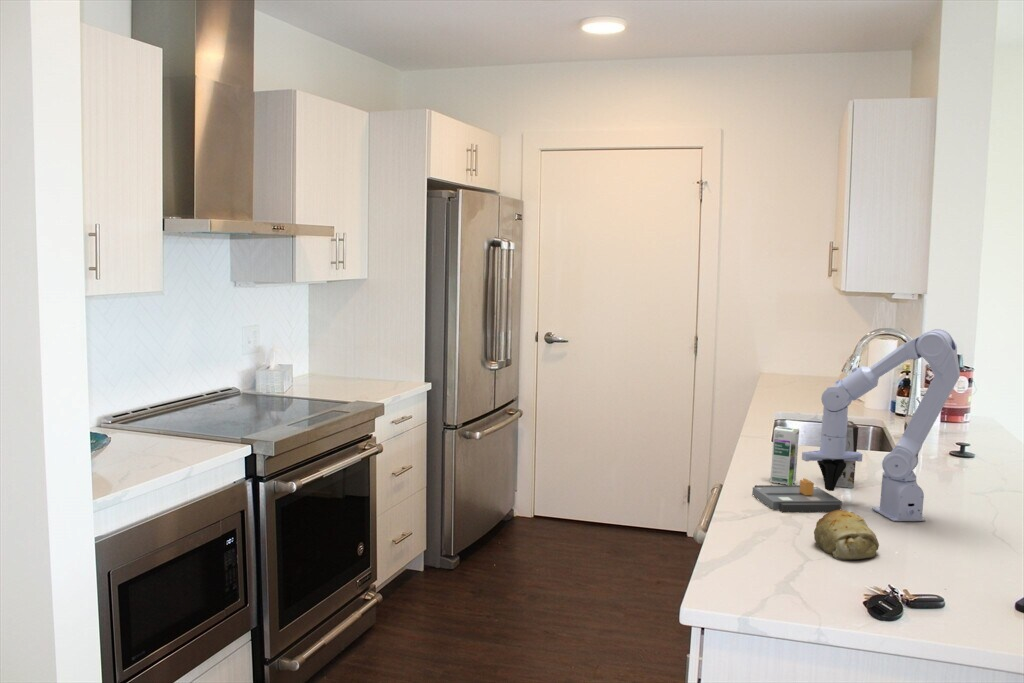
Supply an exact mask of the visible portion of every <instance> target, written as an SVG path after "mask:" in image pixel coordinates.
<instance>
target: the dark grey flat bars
mask: <svg viewBox="0 0 1024 683" xmlns="http://www.w3.org/2000/svg"><path fill="white" fill-rule="evenodd" d="M754 487H800V484H799V485H798V484H796V485H795V484H793V485H784V484H777V485H776V484H775V485H774V484H773V485H768V484H767V485H766V484H765V485H761V484H760V485H757V484H756V485H754ZM835 510H840V504H838V503H780V508H779V510H778V511H780V512H781V511H782V512H781V513H783V512H799V513H829V512H832V511H835Z"/></svg>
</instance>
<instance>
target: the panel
mask: <svg viewBox="0 0 1024 683" xmlns="http://www.w3.org/2000/svg"><path fill="white" fill-rule="evenodd" d="M799 489H800V487H755V486H753V487H752V494H751V495H752V496H753V495H754V496H755V497H756V498H755V497H754V496H753V497H754V498H755V499H757V498H758V499H759V500H758V499H757V500H758V501H760V502H761V501H762V502H763V503H762V502H761V503H762V504H764V505H765V504H766V505H765V506H766V507H768V506H769V507H770V508H769V507H768V508H769V509H771V510H772V509H773V510H772V511H780V510H779V508H780V503H838V504H840V509H841V510H842V504H843V503H842V502H843V501H842V500H840V499H839V498H837V497H835V496H833V495H832V494H830V493H828V492H827V491H825V490H823V489H821V488H820V487H818V486H816V487H815V486H813V495H804V494H802V493H801V492H799Z"/></svg>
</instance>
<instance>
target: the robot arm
mask: <svg viewBox="0 0 1024 683" xmlns="http://www.w3.org/2000/svg"><path fill="white" fill-rule="evenodd" d="M921 358H923V359H924V360H925V361H926V362H927V364H928V366H929V367H930V369H931V372H932V374H933V377H932V380H931V382H930V383H929V386H928V387H927V390H926V391H925V393H924V394H923V396H922V398H921V400H920V401H919V404H918V405H917V408H916V410H915V411H914V413H913V415H912V416H911V418H910V420H909V422H908V424H907V426H906V428H905V430H904V431H903V434H902V435H901V437H900V439H899V440H898V441H897V443H896V445H895V446H894V447H893V449H891V451H890V452H889V453H887V454H886V455H885V456H884V458H883V459H882V463H881V467H882V470H883V472H882V477H881V486H880V487H881V490H880V502H879V506H872V507H871V510H873V511H875V512H876V513H878V514H880V515H882V516H884V517H886V518H887V519H889V520H890V521H893V522H925V521H926V518H925V517H923V509H924V501H925V500H924V497H925V494H924V490H923V489H922V487H920V486H919V485H918V483H917V482H918V481H917V475H916V474H915V472H914V471H913V470H915V469H916V468H917V466H918V464H919V453H920V451H921V449H922V447H923V444H924V442H925V440H926V439H927V437H928V435H929V434H930V431H931V430H932V427H933V426H934V424H935V422H936V420H937V418H938V417H939V415H940V413H941V411H942V410H943V407H944V405H945V404H946V402H947V401H948V398H949V397H950V395H951V394H952V391H953V390H954V388H955V386H956V384H957V382H958V380H959V378H960V377H961V376H960V375H961V370H960V365H959V358H958V346H957V344H956V342H955V340H954V339H953V337H952V335H951V334H950V333H949V332H948V331H946V330H944V329H941V328H940V329H939V328H935V329H932V330H929V331H927V332H924V333H922V334H921V335H920V336H917V337H915V338H912V339H911V340H909V341H907V342H904V343H903V344H901V345H900V346H898V347H896V348H895V349H894V350H892V351H891V352H890V353H888V354H887V355H886V356H884V357H883V358H881V359H879V361H877V362H875V363H874V364H873V365H872V366H864V365H862V366H861V365H860V367H858V366H855V367H854V368H852V369H851V371H850V372H851V373H849V374H847V375H846V376H845V377H843V378H842V379H837V380H836V381H834V383H835V385H832V386H829V387H827V388H826V389H825V390H824V391H823V392H822V394H821V403H822V405H823V410H822V414H823V415H822V418H821V419H822V420H821V429H820V431H821V433H820V445H819V446H820V447H819V450H811V451H802V452H801V460H802V461H804V462H813V461H815V462H816V461H817V465H818V467H819V469H820V472H821V474H822V478H823V483H824V489H825V490H827V491H829V492H834V491H835V489H836V484H837V481H838V479H839V477H840V475H841V473H842V472H843V471H844V469H845V468H846V463H844V461H856V462H863V456H864V454H863V453H861V452H859V451H857V452H848V451H845V448H846V435H847V422H848V421H849V420H848V419H849V418H848V412H849V406H850V405H851V403H852V401H856V400H858V399H860V398H861V397H862V396H864V395H866V394H867V393H869V392H870V391H872V390H873V389H874V388H876V387H878V384H879V379H880V378H881V377H883V376H884V375H885V374H888V373H889V372H890V371H892V370H893V369H895V368H897V367H898V366H900V365H901V364H904V363H905V362H906V361H909V360H919V359H921Z"/></svg>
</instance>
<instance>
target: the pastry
mask: <svg viewBox="0 0 1024 683" xmlns="http://www.w3.org/2000/svg"><path fill="white" fill-rule="evenodd" d="M813 535H814V541H815V544H817V546H818V547H819V548H820V549H821V550H822V551H824V552H825V553H827V554H829V555H831V556H832V558H834V559H835V560H841V561H842V560H844V561H845V560H846V561H847V560H848V561H849V560H850V561H851V560H862V559H871V558H874V557H876V552H877V551H878V550H879V547H880V544H879V541H878V538H877V535H876V533H874V531H873V530H872V529H871V528H870V527H869V525H868V524H867V523H866V520H864V518H862V517H861V516H859V515H857V514H856V513H854V512H853V511H848V510H842V509H841V510H835V511H832V512H826V513H825V514H824V515H823V516H822V517H821V518H819V519H818V520H817V522H816V525H815V529H814V530H813Z"/></svg>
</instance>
